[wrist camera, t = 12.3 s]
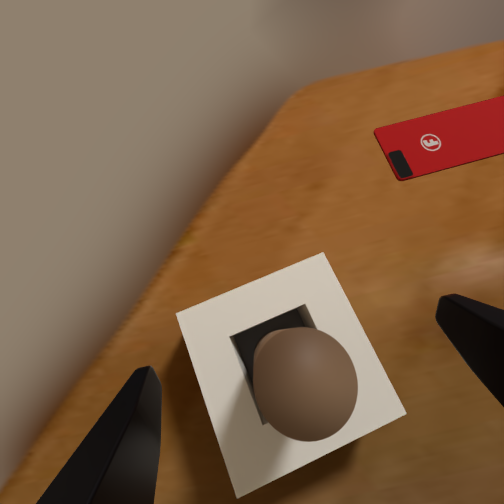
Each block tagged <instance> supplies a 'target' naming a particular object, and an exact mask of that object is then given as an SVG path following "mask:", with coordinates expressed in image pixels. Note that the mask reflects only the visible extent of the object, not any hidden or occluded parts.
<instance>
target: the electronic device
mask: <svg viewBox="0 0 504 504" xmlns="http://www.w3.org/2000/svg"><path fill="white" fill-rule="evenodd" d="M374 134H375V136H376V138H377V140H378V142H379V144H380V146H381V148H382V150H383V152H384V154H385V156H386V158H387V160H388V162H389V164H390V166H391V168H392V170H393V172H394V174H395V176H396V178H397V179H398V180H400V181H404V180H407V179H411V178H415V177H418V176H422V175H426V174H429V173H433V172H437V171H440V170H444V169H448V168H451V167H455V166H459V165H462V164H466V163H470V162H473V161H477V160H481V159H484V158H488V157H492V156H495V155H499V154H503V153H504V96H500V97H496V98H493V99H489V100H485V101H481V102H477V103H473V104H469V105H465V106H461V107H458V108H454V109H450V110H446V111H442V112H438V113H434V114H430V115H426V116H423V117H419V118H415V119H411V120H407V121H403V122H399V123H395V124H392V125H388V126H384V127H380V128H376V129H375V130H374Z"/></svg>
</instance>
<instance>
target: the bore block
mask: <svg viewBox="0 0 504 504" xmlns="http://www.w3.org/2000/svg"><path fill="white" fill-rule="evenodd" d="M176 315H177V318H178V321H179V324H180V327H181V330H182V334H183V337H184V340H185V343H186V346H187V349H188V352H189V355H190V358H191V361H192V364H193V367H194V370H195V373H196V376H197V379H198V382H199V385H200V388H201V391H202V394H203V397H204V400H205V403H206V406H207V409H208V412H209V415H210V418H211V422H212V425H213V428H214V431H215V434H216V437H217V440H218V443H219V446H220V449H221V452H222V455H223V458H224V461H225V464H226V467H227V470H228V473H229V476H230V479H231V482H232V485H233V488H234V491H235V494H236V497H237V499H238V498H240V497H242V496H244V495H246V494H248V493H250V492H252V491H254V490H256V489H258V488H260V487H262V486H264V485H266V484H268V483H270V482H272V481H274V480H276V479H278V478H280V477H282V476H284V475H286V474H288V473H290V472H292V471H294V470H296V469H298V468H300V467H302V466H304V465H306V464H308V463H310V462H312V461H314V460H316V459H318V458H320V457H322V456H324V455H326V454H328V453H330V452H332V451H334V450H336V449H338V448H340V447H341V446H343V445H345V444H347V443H349V442H351V441H353V440H355V439H357V438H359V437H361V436H363V435H365V434H367V433H369V432H371V431H373V430H375V429H377V428H379V427H381V426H383V425H385V424H387V423H389V422H391V421H393V420H395V419H397V418H399V417H401V416H403V415H405V414H407V413H406V411H405V409H404V407H403V406H402V404H401V402H400V400H399V398H398V396H397V394H396V392H395V390H394V388H393V386H392V384H391V382H390V380H389V378H388V377H387V375H386V373H385V371H384V369H383V367H382V365H381V363H380V361H379V359H378V357H377V355H376V353H375V351H374V349H373V348H372V346H371V344H370V342H369V340H368V338H367V336H366V334H365V332H364V330H363V328H362V326H361V324H360V322H359V320H358V318H357V317H356V315H355V313H354V311H353V309H352V307H351V305H350V303H349V301H348V299H347V297H346V295H345V293H344V291H343V289H342V288H341V286H340V284H339V282H338V280H337V278H336V276H335V274H334V272H333V270H332V268H331V266H330V264H329V262H328V260H327V259H326V257H325V255H324V253H323V252H322V253H320V254H318V255H315V256H313V257H310V258H308V259H306V260H303V261H301V262H298V263H296V264H294V265H291V266H289V267H286V268H284V269H282V270H279V271H277V272H274V273H272V274H270V275H267V276H265V277H262V278H260V279H258V280H255V281H253V282H250V283H248V284H246V285H243V286H241V287H238V288H236V289H234V290H231V291H229V292H226V293H224V294H222V295H219V296H217V297H214V298H212V299H210V300H207V301H205V302H202V303H200V304H198V305H195V306H193V307H190V308H188V309H186V310H183V311H181V312H178V313H176ZM297 327H308V328H314V329H317V330H320V331H323V332H325V333H327V334H328V335H330V336H332V337H333V338H334V339H335V340H337V341H338V342H339V343H340V344H341V345H342V346H343V347H344V349H345V350H346V351H347V353H348V355H349V356H350V358H351V360H352V362H353V365H354V367H355V371H356V375H357V380H358V395H357V401H356V405H355V408H354V411H353V413H352V415H351V417H350V418H349V420H348V421H347V423H346V424H345V425H344V426H343V427H342V428H341V429H340V430H339V431H338V432H337V433H335V434H334V435H332V436H330V437H328V438H326V439H323V440H319V441H313V442H304V441H298V440H294V439H291V438H289V437H287V436H285V435H283V434H281V433H280V432H278V431H277V430H276V429H274V428H273V427H272V426H271V425H270V424H269V422H268V421H267V420H266V419H265V417H264V416H263V414H262V412H261V411H260V408H259V406H258V404H257V401H256V398H255V393H254V386H253V364H254V350H255V347H256V344H257V343H258V341H259V340H260V338H261V337H262V336H264V335H265V334H267V333H268V332H271V331H275V330H282V329H289V328H297Z"/></svg>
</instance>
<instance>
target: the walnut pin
mask: <svg viewBox="0 0 504 504" xmlns="http://www.w3.org/2000/svg"><path fill="white" fill-rule="evenodd" d="M253 386H254V393H255V398H256V401H257V404H258V406H259V408H260V411H261V412H262V414H263V416H264V417H265V419H266V420H267V421H268V422H269V424H270V425H271V426H272V427H273V428H274V429H276V430H277V431H278V432H280V433H281V434H283V435H285V436H287V437H289V438H291V439H294V440H298V441H304V442H313V441H319V440H323V439H326V438H328V437H330V436H332V435H334V434H335V433H337V432H338V431H339V430H340V429H341V428H342V427H343V426H344V425H345V424H346V423H347V421H348V420H349V418H350V417H351V415H352V413H353V411H354V408H355V405H356V401H357V395H358V380H357V375H356V371H355V367H354V365H353V362H352V360H351V358H350V356H349V355H348V353H347V351H346V350H345V349H344V347H343V346H342V345H341V344H340V343H339V342H338V341H337V340H335V339H334V338H333V337H332V336H330V335H328V334H327V333H325V332H323V331H320V330H317V329H314V328H308V327H297V328H289V329H282V330H275V331H271V332H268V333H267V334H265V335H264V336H262V337H261V338H260V340H259V341H258V343H257V344H256V347H255V350H254V364H253Z"/></svg>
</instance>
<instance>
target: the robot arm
mask: <svg viewBox="0 0 504 504" xmlns="http://www.w3.org/2000/svg"><path fill="white" fill-rule="evenodd" d="M435 317H436V321H437V323H438V325H439V326H440V327H441V329H442V330H443V332H444V333H445V334H446V336H447V337H448V339H449V340H450V341H451V343H452V344H453V345H454V347H455V348H456V350H457V351H458V352H459V354H460V355H461V357H462V358H463V359H464V361H465V362H466V363H467V365H468V366H469V367H470V368H471V370H472V371H473V372H474V373H475V375H476V376H477V377H478V378H479V379H480V380H481V382H482V383H483V384H484V385H485V386H486V387H487V388H488V390H489V391H490V392H491V393H492V394H493V395H494V397H495V398H496V399H497V400H498V401H499V402H500V403H501V405H502V406H503V407H504V310H502V309H499V308H496V307H493V306H490V305H488V304H485V303H482V302H479V301H476V300H473V299H470V298H467V297H464V296H461V295H458V294H449V295H444V296H441V297H440V299H439V302H438V306H437V310H436V315H435ZM161 407H162V387H161V383H160V380H159V379H158V377H157V375H156V373H155V371H154V369H153V367H152V366H145V367H141V368H138V369H136V370H135V371H134V372H133V374H132V375H131V376H130V378H129V379H128V380H127V382H126V383H125V384H124V386H123V387H122V389H121V390H120V391H119V393H118V394H117V395H116V397H115V398H114V399H113V401H112V402H111V403H110V405H109V406H108V407H107V409H106V410H105V411H104V413H103V414H102V415H101V417H100V418H99V419H98V421H97V422H96V423H95V425H94V426H93V428H92V429H91V430H90V432H89V433H88V434H87V436H86V437H85V438H84V440H83V441H82V442H81V444H80V445H79V446H78V448H77V449H76V450H75V452H74V453H73V454H72V456H71V457H70V458H69V460H68V461H67V463H66V464H65V465H64V467H63V468H62V469H61V471H60V472H59V473H58V475H57V476H56V477H55V479H54V480H53V481H52V483H51V484H50V485H49V487H48V488H47V489H46V491H45V492H44V493H43V495H42V496H41V497H40V499H39V500H38V502H37V503H36V504H154V496H155V488H156V480H157V472H158V464H159V456H160V445H161Z"/></svg>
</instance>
